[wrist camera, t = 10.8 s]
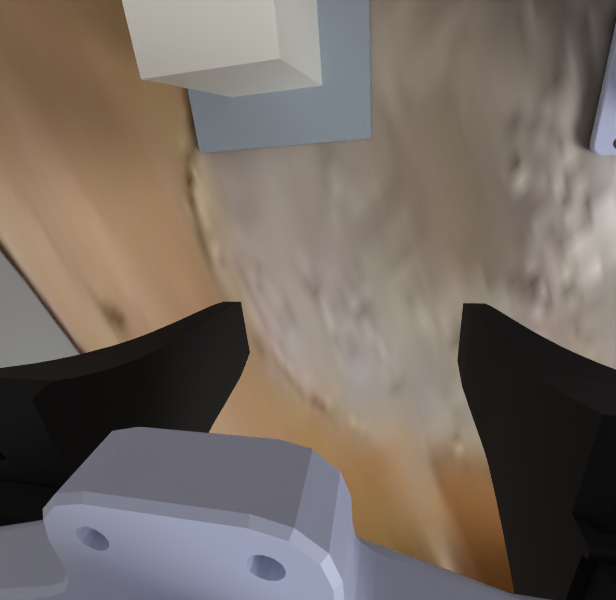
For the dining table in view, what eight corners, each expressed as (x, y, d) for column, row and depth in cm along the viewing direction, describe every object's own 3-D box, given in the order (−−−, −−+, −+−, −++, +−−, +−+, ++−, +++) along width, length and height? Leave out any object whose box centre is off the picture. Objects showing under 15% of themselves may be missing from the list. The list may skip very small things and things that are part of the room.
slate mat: (368, -114, 14) (367, -121, 14) (371, 138, 18) (370, 138, 18) (161, -67, 16) (156, -71, 16) (203, 152, 20) (199, 153, 19)
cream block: (314, -39, 15) (256, -169, 8) (322, 85, 17) (280, 58, 10) (214, -19, 16) (92, -121, 9) (232, 97, 18) (140, 79, 11)
